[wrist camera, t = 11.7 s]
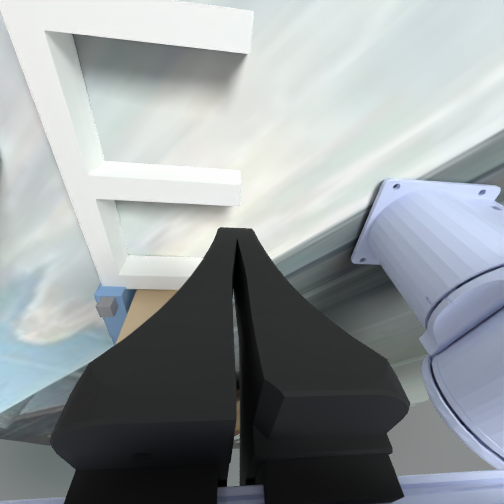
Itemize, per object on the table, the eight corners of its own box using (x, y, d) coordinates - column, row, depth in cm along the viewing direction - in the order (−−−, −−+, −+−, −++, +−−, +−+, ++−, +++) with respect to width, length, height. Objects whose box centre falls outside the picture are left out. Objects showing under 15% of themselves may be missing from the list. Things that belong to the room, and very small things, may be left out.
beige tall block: (187, 276, 24) (168, 371, 17) (189, 305, 26) (174, 398, 19) (142, 275, 24) (104, 372, 16) (149, 304, 26) (118, 399, 19)
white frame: (250, 16, 13) (257, 4, 10) (230, 324, 29) (230, 362, 25) (21, -14, 12) (-67, -40, 8) (129, 323, 28) (114, 364, 24)
